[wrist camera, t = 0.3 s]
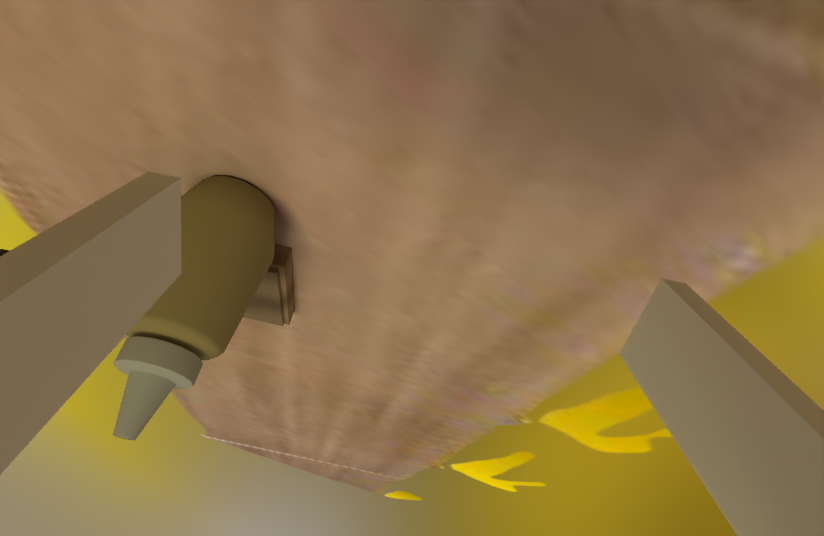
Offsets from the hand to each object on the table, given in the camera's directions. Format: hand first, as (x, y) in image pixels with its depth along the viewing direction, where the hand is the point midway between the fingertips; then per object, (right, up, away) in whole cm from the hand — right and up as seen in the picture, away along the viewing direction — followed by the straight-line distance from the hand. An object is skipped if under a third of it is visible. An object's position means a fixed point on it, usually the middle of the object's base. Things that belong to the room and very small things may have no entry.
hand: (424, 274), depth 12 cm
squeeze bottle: (-14, +6, +23) cm, 28 cm away
